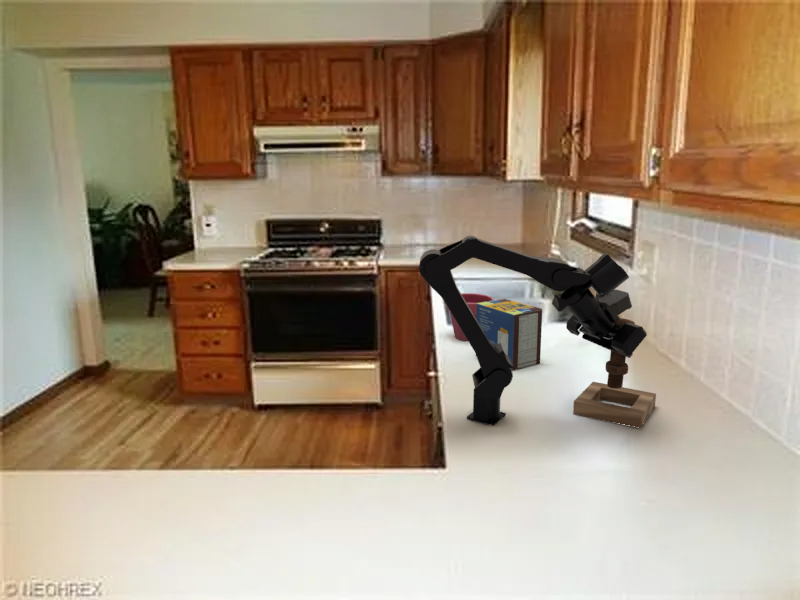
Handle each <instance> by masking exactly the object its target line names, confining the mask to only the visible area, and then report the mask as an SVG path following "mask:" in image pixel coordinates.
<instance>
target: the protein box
mask: <svg viewBox="0 0 800 600" xmlns="http://www.w3.org/2000/svg"><path fill="white" fill-rule="evenodd" d="M476 319H477V321H478V323H479V324H480V326H481V328H482V329H483V331H484V333H485V335H486V336H487V338H488V339H489V341H490V342H491V343H492V344H493V345H494V346H496V345H497V344H499V343H501V346H502V348H503V351H504V353H505V354H506V355H507V356H509V358H510V360H511V363H512V365H513V368H511V371H512V372H514V371H518V370H521V369H525V368H528V367H533V366H536V365H540V364H541V347H542V326H543V325H542V323H543V308H540V307H536V306H532V305H529V304H526V303H522V302H518V301H515V300H511V299H507V298H499V299H494V300H493V301H487V302H481V303H477V312H476Z"/></svg>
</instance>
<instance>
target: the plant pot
mask: <svg viewBox="0 0 800 600" xmlns="http://www.w3.org/2000/svg"><path fill="white" fill-rule="evenodd" d="M460 293H461V292H460ZM461 294H462V296H463V298H464V299H465V301H466V303H467V304H468V306H469V308H470V309H471V311H472V313H473V314H474V316H475V318H476V312H477V303H481V302H487V301H493V300H495V298H493V297H492V296H489V295H487V294H483V293H472V292H471V293H468V292H467V293H466V292H465V293H464V292H463V293H461ZM446 309H447V311H448V312H449V314H450V318H451V324H452V329H453V335H454V338H455V339H456V340H458V341H462V342H466V341H468V340H467V338H466V336H465V335H464V333H463V332H462V330H461V328H460V327H459V325H458V323H457V322H456V320H455V318H454V317H453V315H452V313H451V312H450V310H449V308H448V307H447V306H446Z"/></svg>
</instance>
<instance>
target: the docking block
mask: <svg viewBox="0 0 800 600" xmlns="http://www.w3.org/2000/svg"><path fill="white" fill-rule="evenodd" d="M656 398H657V393H656V392H655V393H654V392H650V391H643V390H639V389H633V388H629V387H625V386H622V387H621V388H618V389H614V388H610V387H609V386H608V385H607V383H603V382H597V381H592V382H591V383H590V384H589V385H588V386H587V387H586V388H585V389H584V390H583V391H582V392H581V393H580V394H579V396H577V398H575V399H574V400H573V410H572V412H573V415H577V416H581V417H584V418H591V419H593V420H598V419H599V421H603V420H604V422H607V421H609V422H608V423H611V422H615V423H614V424H616V423H620V424H625V425H630V426H635V427H639V428H641V427H643V426H644V424H645V423H644V422H646V421H647V420H646V419H648V418H647V417H650V415H649V414H651V413H652V412H653V410H654V409H655V407H656ZM604 401H605V402H604ZM609 402H610V403H609ZM613 403H615V404H613ZM619 403H620V405H618V404H619ZM624 404H625V406H624ZM629 405H630V406H631V407H629ZM654 406H655V407H654ZM653 408H654V409H653ZM651 411H652V412H651ZM645 420H646V421H645ZM643 423H644V424H643ZM620 424H619V425H620ZM625 425H624V426H625ZM642 425H643V426H642ZM641 429H642V428H641Z"/></svg>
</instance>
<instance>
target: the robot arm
mask: <svg viewBox="0 0 800 600" xmlns="http://www.w3.org/2000/svg"><path fill="white" fill-rule="evenodd" d="M473 258H474V259H476V260H480V261H483V262H486V263H489V264H493V265H496V266H498V267H502V268H503V269H504V268H505V269H507V270H511V271H514V272H516V273H519V274H522V275H526V276H527V277H530V278H531V279H533V280H535V281H537V282H538V283H540V284H541V285H544V286H545V287H547V288H549V289H550V290H552V291H555V292H559V293H558V294H553V299H552V301H551V304H552V306H553V307H554V308H555V310H556V311H557V312H559V313H560V312H562V311H563V310H564V309H566V308H567V310H568V311H569V312H570V313H571V314H572V315H571V316H570V318H569V319H568V320H567V321H566V329H567V331H569V333H571V334H572V335H574V336H578V337H579V336H580V334H581V333H582V336H581V337H582V339H583V340H585V341H588V342H591V343H592V344H595V345H597V346H600V347H602V348H604V349H606V350H609V351H611V350H612V351H615V352H617V353H619V354H621V355H624V356H626V358H629V359H630V358H631V357H632V356H633V353H634V351H635V350H636V349H637V348H638V347H639V346H640V344H641V343H642V342H643V341H644V339H645V338H646V337H647V336H648V333H647V331H646V330H645V328H643V326H641V325H639V324H636V323H635V324H632V323H625V324H620V325H615V324H614V323H615V322H616V323H617V322H618V320H619V319H620V315H621V314H623V313H624V312H626V311H627V310H630V309H632V307H633V305H632V301H631V297H630V295H629V292H627V291H624V290H619V289H617V288H618V287H619V286H621V285H622V284H623V283H625V282H626V281H627V280H628V279H629V278H630V276H629V275H628V273H627V272H626V271H625V269H624V268H623V267H622V266H621V265H619V264H618V263H617V262H616V261H615V260H614V259H613V258H612V257H611V256H610V255H609V254H608V253H606V252H604V253H603V254H602V255H601V256H599V258H597V259H596V260H595V262H593V263H592V264H591V265H589V266H588V267H587V268H586V269H583V268H580V267H576V266H572V265H570V264H568V263H567V262H566V261H564V260H562V259H560V258H554V257H548V256H547V257H546V256H538V255H537V256H536V255H529V254H525V253H523V252H520V251H517V250H514V249H511V248H507V247H505V246H502V245H499V244H496V243H492V242H489V241H486V240H483V239H480V238H478V237H477V236H475V235H467V236H465V237H463V238H462V239H461V240H458V241H455V242H453V243H451V244H449V245H446V246H443V247H442V248H440V249H433V248H431V249H428V250H426V251H424V253H422V255H421V256H420V258H419V265H418V268H419V269H418V271H419V273H420V276H421V277H422V279H423V280H425V282H426V284H428V285H429V286H430V287H431V288H432V289H433V290H434V291H435V292H436V293H437V294H438V296H440V297H441V298H442V300H443V301H444V303H445V305H446V308H447V307H448V308H449V310H450V311H449V310H448V311H449V313H450V312H451V313H452V315H453V317H454V318H455V320H456V322H457V323H458V325H459V327H460V328H461V330H462V332H463V333H464V335H465V336H466V338H467V340H468V341H469V342H468V343H469V344H470V346H471V348H472V350H473V351H474V353H475V357H476V359H477V361H478V364H479V368H478V369H477V370H476V371H475V372H474V373H473V374H471V375H472V382H473V386H474V388H473V401H472V403H473V405H472V406H473V408H472V412H471V413H469V414H467V416H466V420H469V421H473V422H477V423H481V424H485V425H487V426H488V425H489V426H496V425H497V423H499V422H500V421H501V420H502V419H505V417H506V415H507V413H506V412H503V411H501V397H502V394H503V392H504V390H505V388H507V387H508V386H510V384H511V383H512V381H513V378H514V376H513V375H514V374H513V371H511V368H513V365H512V363H511V360H510V358H509V356H507V355H506V354H505V353H504V351H503V348H502V346H501V343H499V344H497V345H496V346H494V345H493V344H492V343H491V342H490V341H489V339H488V338H487V336H486V335H485V333H484V331H483V329H482V328H481V326H480V324H479V323H478V321H477V319H476V318H475V316H474V314H473V313H472V311H471V309H470V308H469V306H468V304H467V303H466V301H465V299H464V298H463V296H462V294H461V291H460V289H459V287H458V286H457V283H456V281H455V279H454V275H453V272H452V270H453V269H456V268H458V267H459V266H461V265H463V263H464V264H465V262H466V261H469V260H471V259H473ZM590 288H591V289H592V290H593V291H594V292H595V295H594V293H593V292H592V291H591V290H590Z"/></svg>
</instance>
